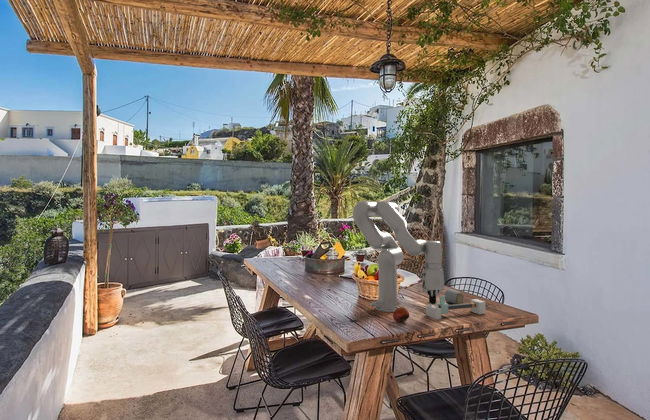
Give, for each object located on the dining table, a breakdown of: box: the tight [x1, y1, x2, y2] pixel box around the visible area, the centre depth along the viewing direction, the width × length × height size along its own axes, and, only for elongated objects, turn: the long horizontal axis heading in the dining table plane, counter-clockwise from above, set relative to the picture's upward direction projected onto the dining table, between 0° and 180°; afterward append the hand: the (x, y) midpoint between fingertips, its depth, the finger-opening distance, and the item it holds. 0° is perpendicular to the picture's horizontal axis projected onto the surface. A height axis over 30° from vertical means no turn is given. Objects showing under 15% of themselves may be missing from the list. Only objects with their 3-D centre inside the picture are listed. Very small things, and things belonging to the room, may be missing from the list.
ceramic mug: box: [444, 288, 465, 305], centre depth 218 cm, size 11×8×8 cm
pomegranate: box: [392, 306, 410, 325], centre depth 181 cm, size 7×7×10 cm
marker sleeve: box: [435, 295, 449, 315], centre depth 192 cm, size 4×4×8 cm
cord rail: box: [425, 298, 486, 320], centre depth 195 cm, size 30×8×6 cm, turn 110°
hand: (432, 303), depth 190 cm, fingers closed
